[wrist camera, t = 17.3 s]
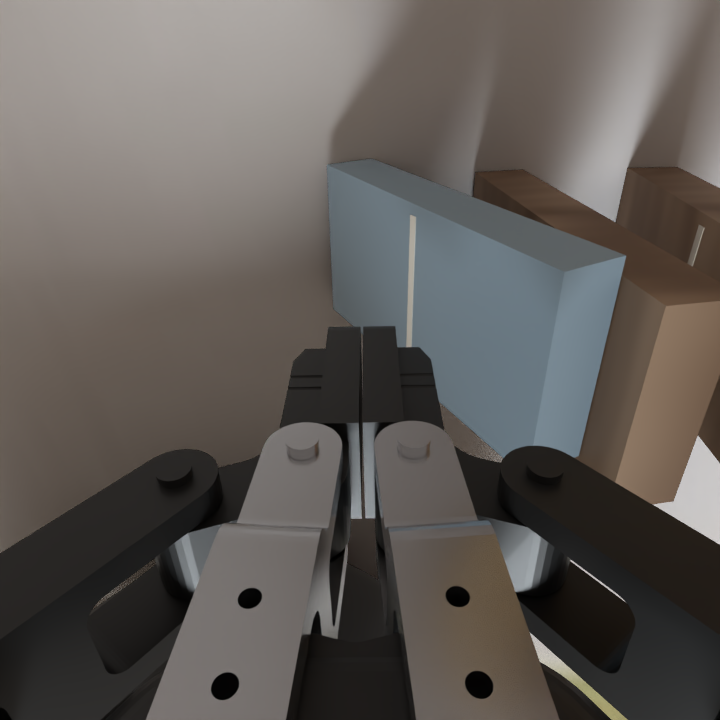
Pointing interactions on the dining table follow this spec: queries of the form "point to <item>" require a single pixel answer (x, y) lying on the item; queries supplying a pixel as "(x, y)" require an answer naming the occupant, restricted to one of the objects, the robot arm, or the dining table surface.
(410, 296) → the tile
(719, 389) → the tile
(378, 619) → the bowl of black rocks
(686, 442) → the tile
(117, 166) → the dining table surface
